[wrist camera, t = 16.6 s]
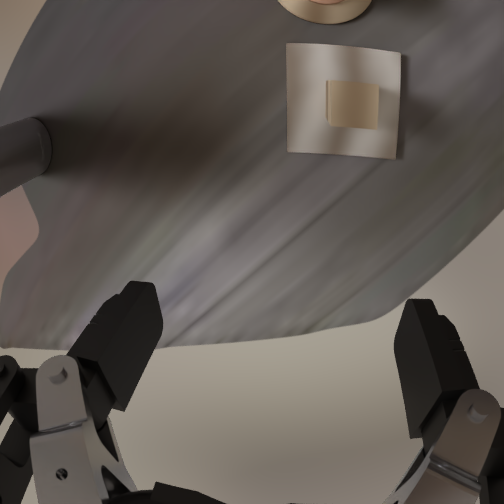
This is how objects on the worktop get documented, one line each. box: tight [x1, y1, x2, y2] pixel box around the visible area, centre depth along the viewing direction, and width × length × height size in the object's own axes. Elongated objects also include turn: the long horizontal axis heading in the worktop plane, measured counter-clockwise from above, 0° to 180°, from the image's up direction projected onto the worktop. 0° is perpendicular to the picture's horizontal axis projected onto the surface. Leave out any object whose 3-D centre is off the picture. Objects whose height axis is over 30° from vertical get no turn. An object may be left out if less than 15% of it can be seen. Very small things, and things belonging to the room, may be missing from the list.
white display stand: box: [286, 43, 401, 159], centre depth 27 cm, size 12×12×8 cm
